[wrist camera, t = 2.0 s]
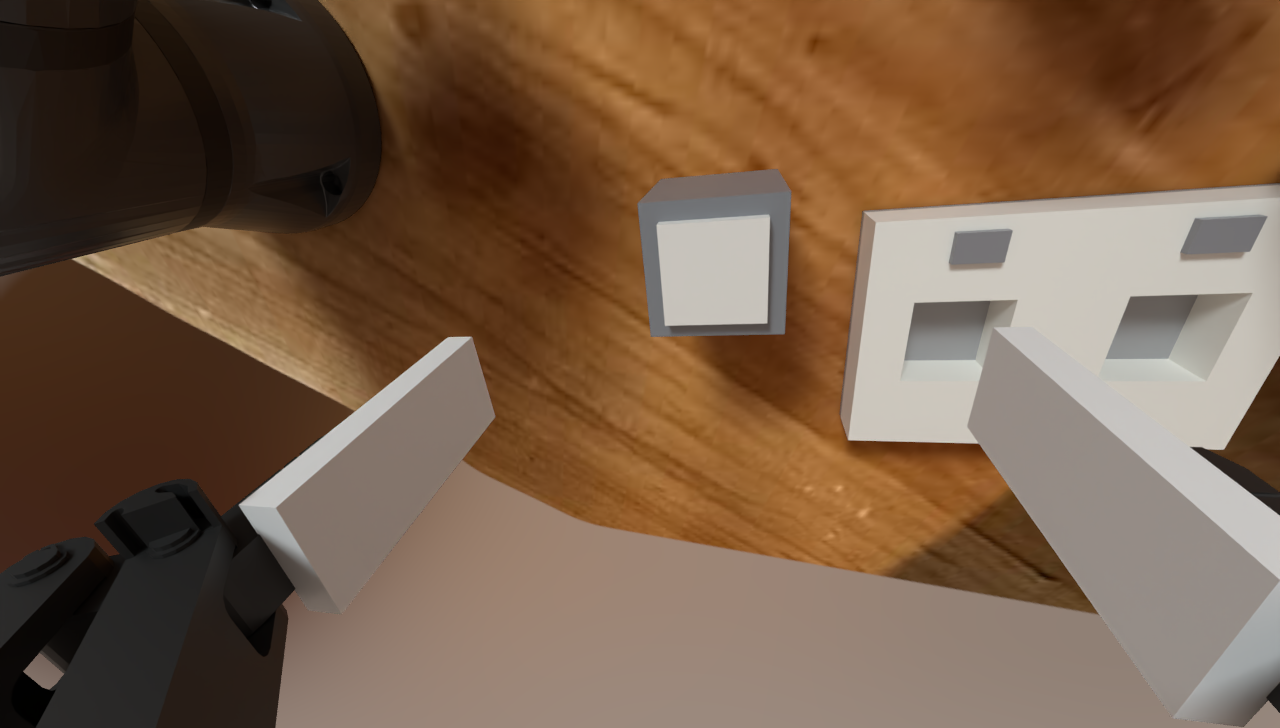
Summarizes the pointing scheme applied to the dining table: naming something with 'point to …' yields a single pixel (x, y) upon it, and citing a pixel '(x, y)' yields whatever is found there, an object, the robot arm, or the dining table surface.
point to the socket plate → (1067, 305)
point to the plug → (716, 254)
